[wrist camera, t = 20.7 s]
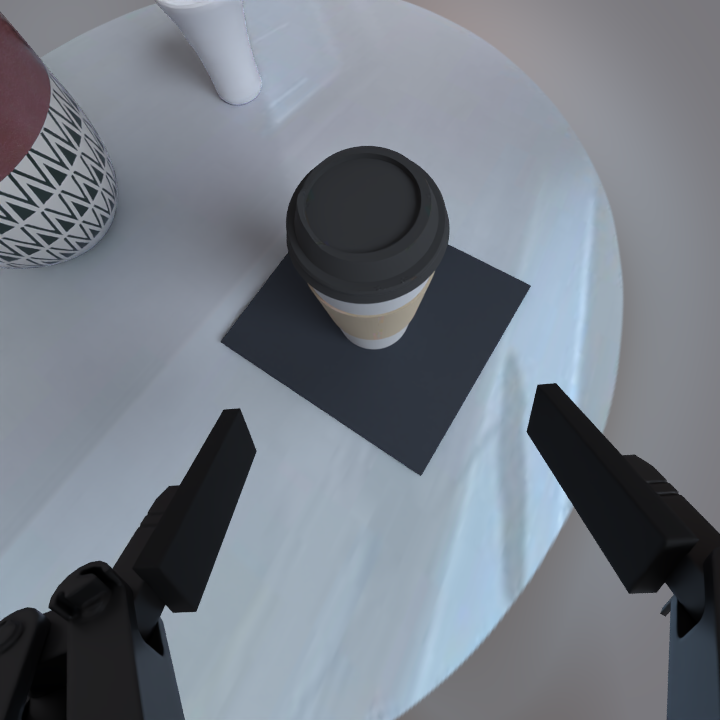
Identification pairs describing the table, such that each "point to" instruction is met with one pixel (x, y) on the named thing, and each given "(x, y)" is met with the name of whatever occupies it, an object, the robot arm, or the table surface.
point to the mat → (384, 353)
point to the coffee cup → (368, 240)
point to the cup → (219, 44)
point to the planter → (47, 165)
